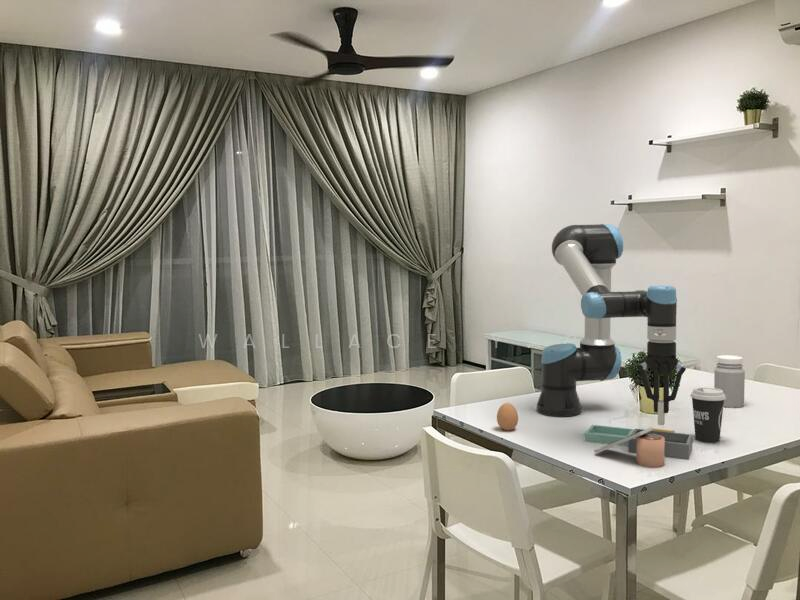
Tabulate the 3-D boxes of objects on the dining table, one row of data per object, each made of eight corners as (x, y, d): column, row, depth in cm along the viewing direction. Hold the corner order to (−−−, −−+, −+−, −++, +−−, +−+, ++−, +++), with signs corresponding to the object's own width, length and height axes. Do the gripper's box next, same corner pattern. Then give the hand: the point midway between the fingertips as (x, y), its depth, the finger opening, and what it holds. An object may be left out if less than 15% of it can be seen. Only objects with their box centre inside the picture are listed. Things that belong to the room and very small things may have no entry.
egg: (492, 430, 212) (492, 402, 211) (506, 426, 216) (506, 399, 216) (508, 434, 207) (508, 406, 206) (522, 430, 211) (522, 402, 211)
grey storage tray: (628, 452, 187) (628, 436, 187) (635, 441, 197) (635, 426, 196) (688, 459, 180) (689, 442, 179) (692, 448, 189) (692, 432, 189)
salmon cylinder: (634, 465, 176) (634, 438, 175) (638, 457, 182) (638, 432, 181) (662, 468, 172) (662, 441, 172) (666, 460, 179) (666, 435, 178)
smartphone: (607, 447, 190) (606, 444, 190) (653, 429, 180) (651, 426, 180) (594, 453, 185) (593, 450, 185) (641, 435, 175) (639, 432, 175)
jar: (750, 408, 233) (751, 357, 232) (729, 411, 230) (730, 360, 229) (727, 402, 243) (728, 354, 241) (707, 405, 239) (708, 356, 238)
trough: (584, 441, 198) (584, 433, 198) (592, 432, 207) (592, 424, 207) (628, 446, 192) (628, 438, 192) (634, 437, 201) (634, 429, 201)
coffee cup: (695, 433, 204) (695, 385, 202) (728, 438, 198) (729, 389, 196) (685, 441, 196) (686, 391, 195) (720, 446, 190) (721, 395, 189)
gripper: (634, 341, 186) (634, 424, 187) (685, 343, 179) (684, 429, 181) (639, 338, 192) (639, 418, 194) (688, 340, 186) (687, 423, 188)
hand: (661, 423), depth 187 cm, fingers closed
